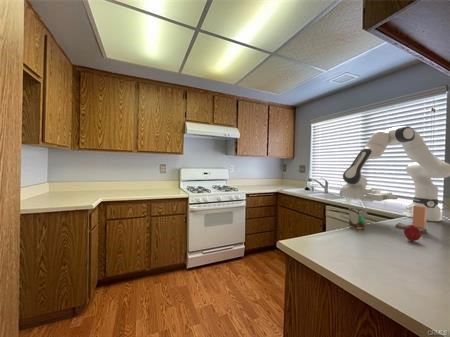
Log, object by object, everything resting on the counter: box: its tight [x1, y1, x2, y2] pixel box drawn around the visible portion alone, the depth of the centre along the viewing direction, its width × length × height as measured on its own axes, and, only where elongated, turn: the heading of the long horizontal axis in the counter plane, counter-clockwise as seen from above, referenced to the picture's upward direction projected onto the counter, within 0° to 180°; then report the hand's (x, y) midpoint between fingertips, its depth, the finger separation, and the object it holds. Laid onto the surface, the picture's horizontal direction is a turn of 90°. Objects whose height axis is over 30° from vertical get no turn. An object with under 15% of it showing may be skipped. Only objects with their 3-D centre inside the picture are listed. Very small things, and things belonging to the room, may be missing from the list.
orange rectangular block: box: [412, 205, 427, 229], centre depth 108 cm, size 4×4×12 cm
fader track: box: [394, 222, 428, 234], centre depth 111 cm, size 12×5×2 cm, turn 35°
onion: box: [403, 223, 422, 242], centre depth 93 cm, size 6×6×8 cm
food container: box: [348, 206, 368, 231], centre depth 110 cm, size 12×6×10 cm, turn 171°
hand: (396, 197), depth 117 cm, fingers closed
